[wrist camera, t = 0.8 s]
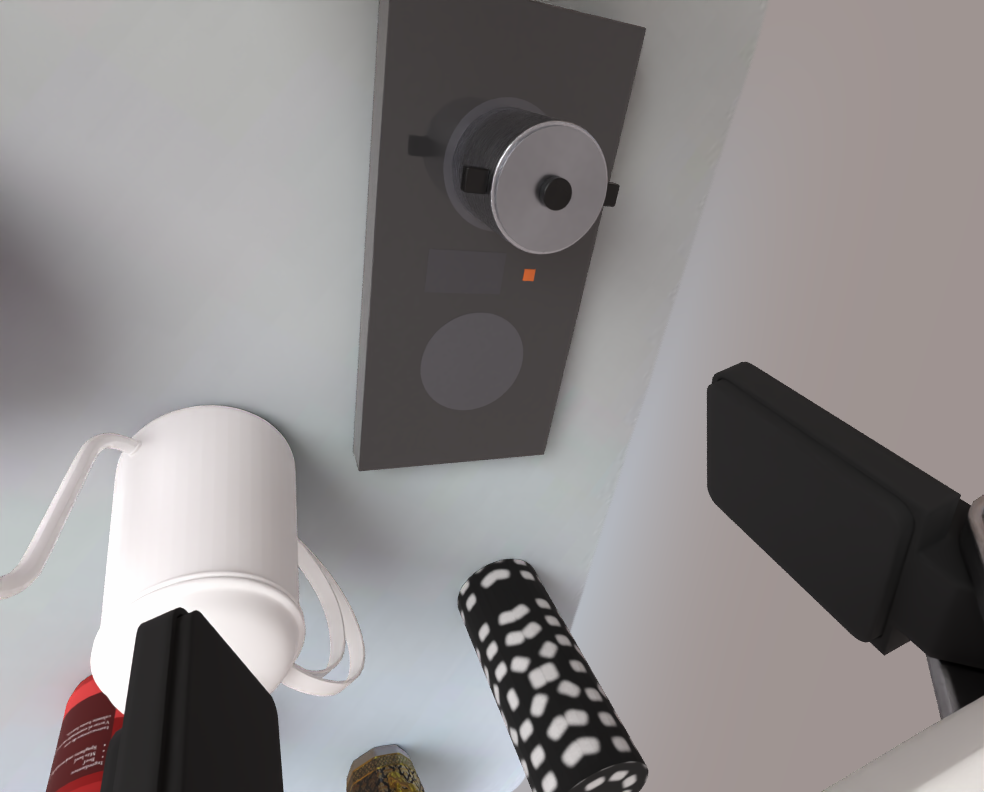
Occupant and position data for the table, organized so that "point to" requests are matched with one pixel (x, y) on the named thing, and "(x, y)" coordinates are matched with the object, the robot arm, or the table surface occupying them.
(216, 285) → the table surface
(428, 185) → the hot plate
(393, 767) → the ceramic cup
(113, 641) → the coffeepot
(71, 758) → the canned food
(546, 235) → the pot
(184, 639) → the robot arm
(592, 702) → the white-spotted black cylinder
